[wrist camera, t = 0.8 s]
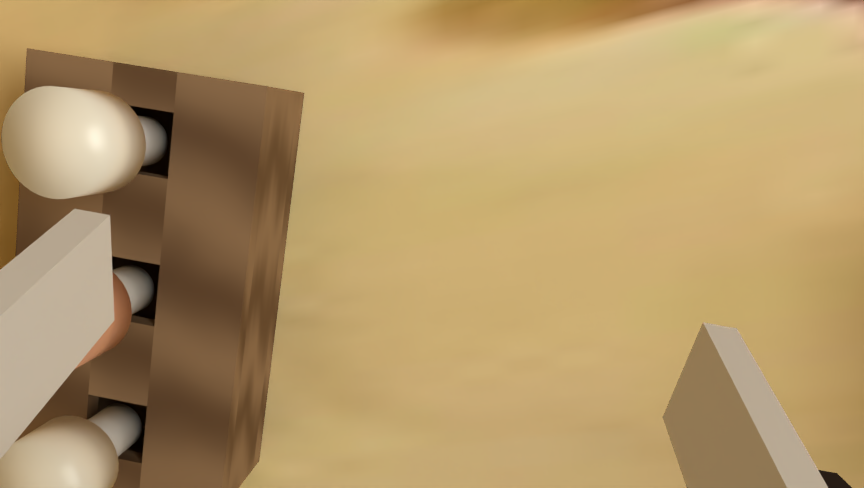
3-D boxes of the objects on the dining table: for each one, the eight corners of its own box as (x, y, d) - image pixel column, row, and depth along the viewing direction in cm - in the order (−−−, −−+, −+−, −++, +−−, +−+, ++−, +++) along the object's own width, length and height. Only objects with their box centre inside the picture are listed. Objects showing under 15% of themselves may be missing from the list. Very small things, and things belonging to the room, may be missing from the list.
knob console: (258, 460, 43) (218, 513, 37) (72, 422, 44) (3, 468, 38) (304, 93, 39) (267, 86, 33) (98, 60, 40) (26, 48, 34)
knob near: (183, 192, 35) (102, 207, 28) (98, 177, 35) (-2, 189, 28) (191, 102, 34) (111, 95, 27) (105, 88, 34) (4, 77, 28)
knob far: (156, 471, 37) (76, 548, 31) (78, 455, 38) (-18, 527, 31) (163, 393, 37) (83, 454, 30) (83, 378, 37) (-14, 434, 30)
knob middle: (169, 337, 36) (89, 385, 29) (88, 321, 36) (-11, 366, 30) (177, 253, 35) (96, 283, 28) (94, 238, 36) (-5, 264, 29)
